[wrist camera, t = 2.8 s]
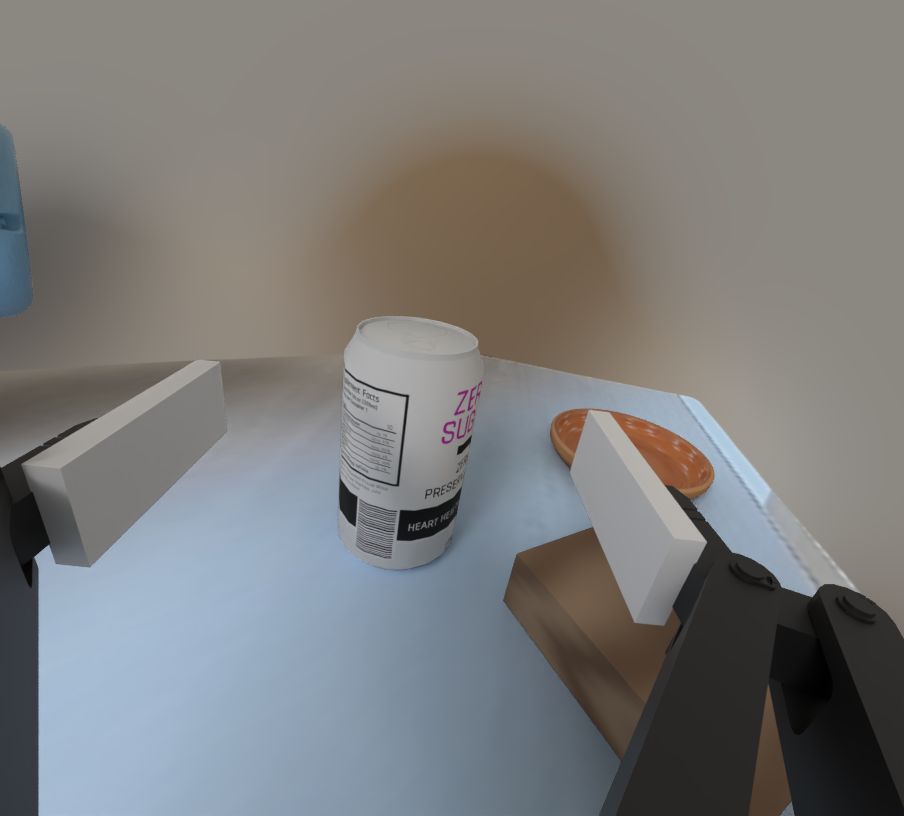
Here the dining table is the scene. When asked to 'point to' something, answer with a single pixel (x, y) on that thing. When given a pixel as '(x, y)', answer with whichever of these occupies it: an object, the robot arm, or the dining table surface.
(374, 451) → the supplement can
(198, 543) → the dining table surface
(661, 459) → the saucer
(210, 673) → the dining table surface
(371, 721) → the dining table surface
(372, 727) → the dining table surface
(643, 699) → the podium
